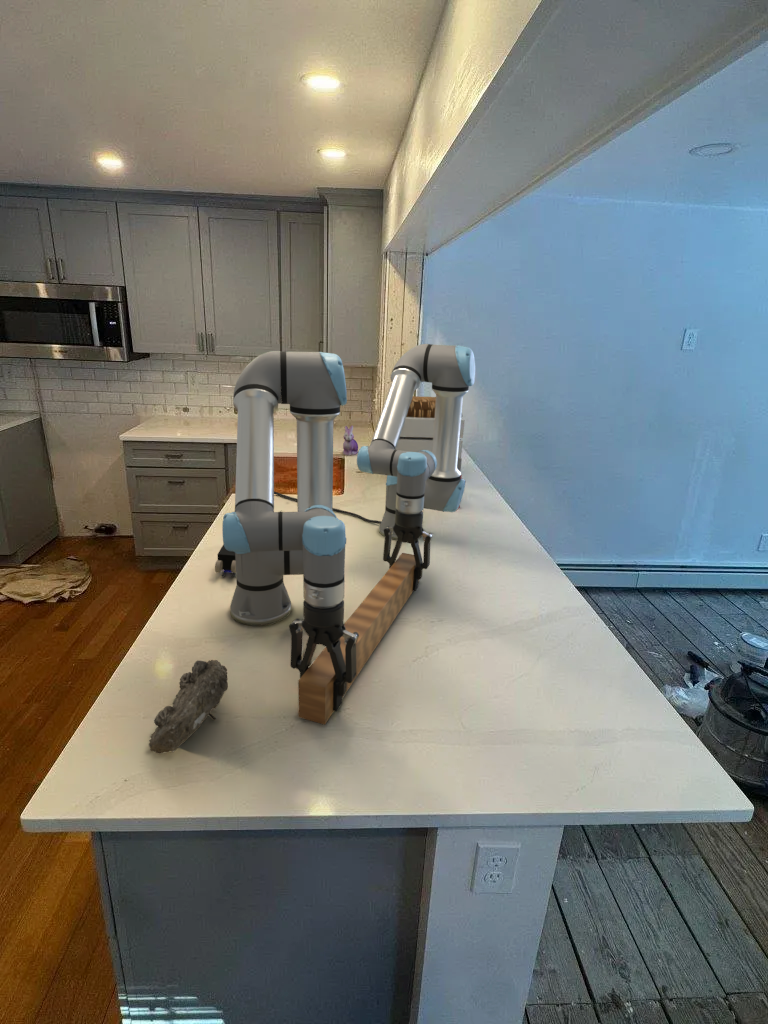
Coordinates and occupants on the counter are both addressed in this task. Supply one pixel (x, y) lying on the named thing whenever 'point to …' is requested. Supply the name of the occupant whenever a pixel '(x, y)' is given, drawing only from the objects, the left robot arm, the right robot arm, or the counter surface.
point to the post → (371, 628)
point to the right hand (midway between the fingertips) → (404, 586)
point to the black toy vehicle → (226, 562)
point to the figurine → (349, 442)
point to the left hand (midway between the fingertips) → (323, 702)
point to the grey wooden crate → (422, 427)
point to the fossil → (189, 705)
